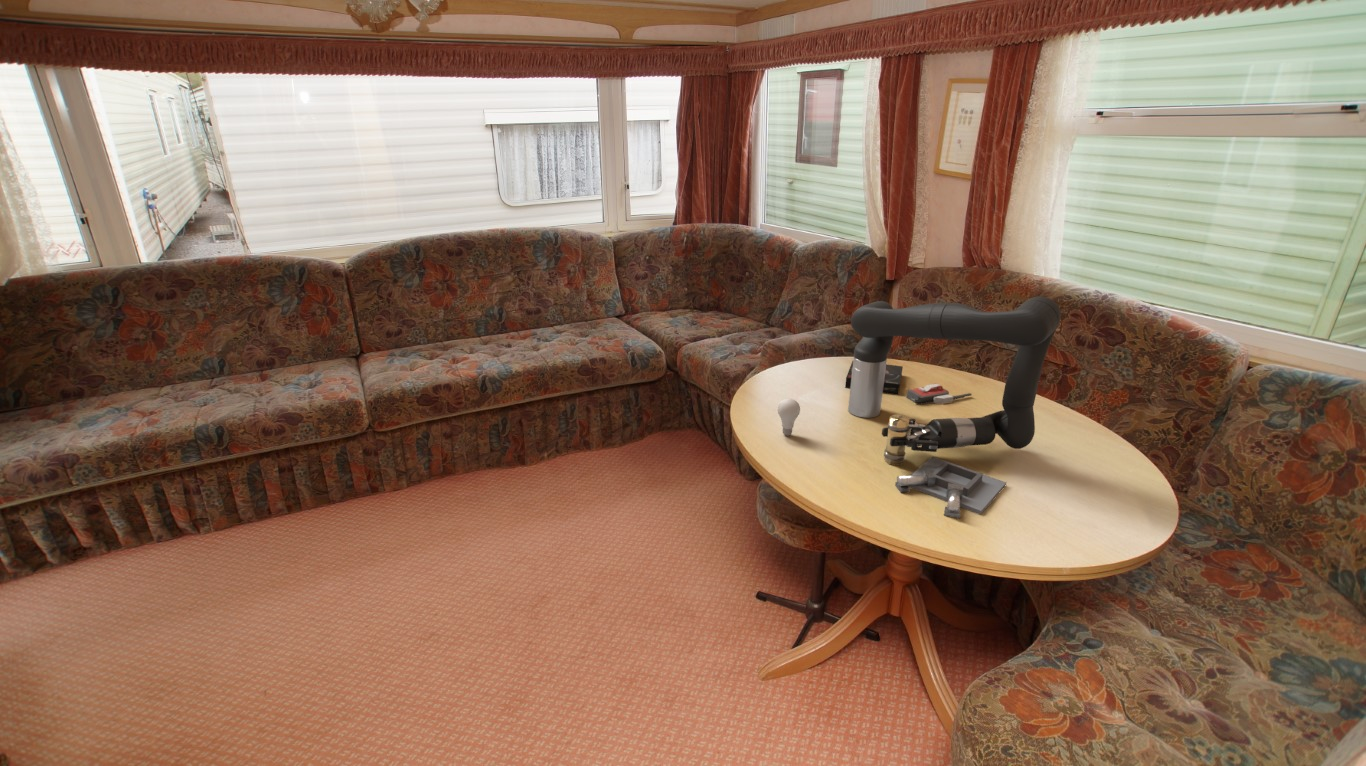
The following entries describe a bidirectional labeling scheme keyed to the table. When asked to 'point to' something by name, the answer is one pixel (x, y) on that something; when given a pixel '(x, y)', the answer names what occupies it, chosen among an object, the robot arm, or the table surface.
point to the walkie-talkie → (932, 395)
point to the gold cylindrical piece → (896, 428)
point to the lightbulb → (788, 414)
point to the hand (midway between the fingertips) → (886, 437)
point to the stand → (975, 484)
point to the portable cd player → (890, 380)
